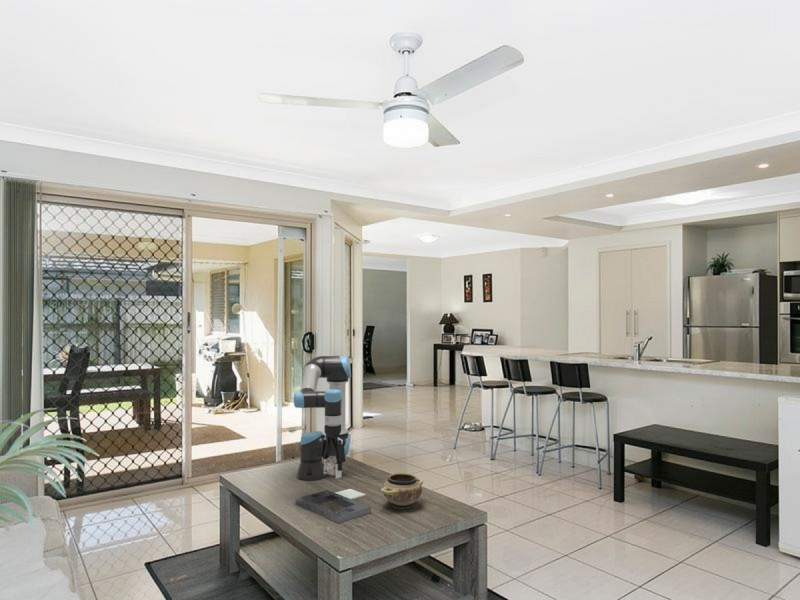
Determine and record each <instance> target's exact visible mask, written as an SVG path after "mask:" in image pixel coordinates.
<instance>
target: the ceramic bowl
mask: <svg viewBox="0 0 800 600" xmlns="http://www.w3.org/2000/svg"><path fill="white" fill-rule="evenodd" d="M423 483H424V480H423V479H422V478H419V477H417V476H415V475H413V474H411V473H406V472H405V473H404V472H396V473H392V474H389V475H388V476H387V480H386V481H384V482H383V484H382V487H381V489H380V492H381V493H382V494H383V495H384V497H385V498H386V499H387V500H388V501H389V502H390V503H391V507H393V508H394V509H399V510H406V509H405V508H407V509H409V507H410V508H411V506H413V503H415V502H416V501H417V500H418V499H420V497H421V496H422V492H423V488H422V485H423Z"/></svg>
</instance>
